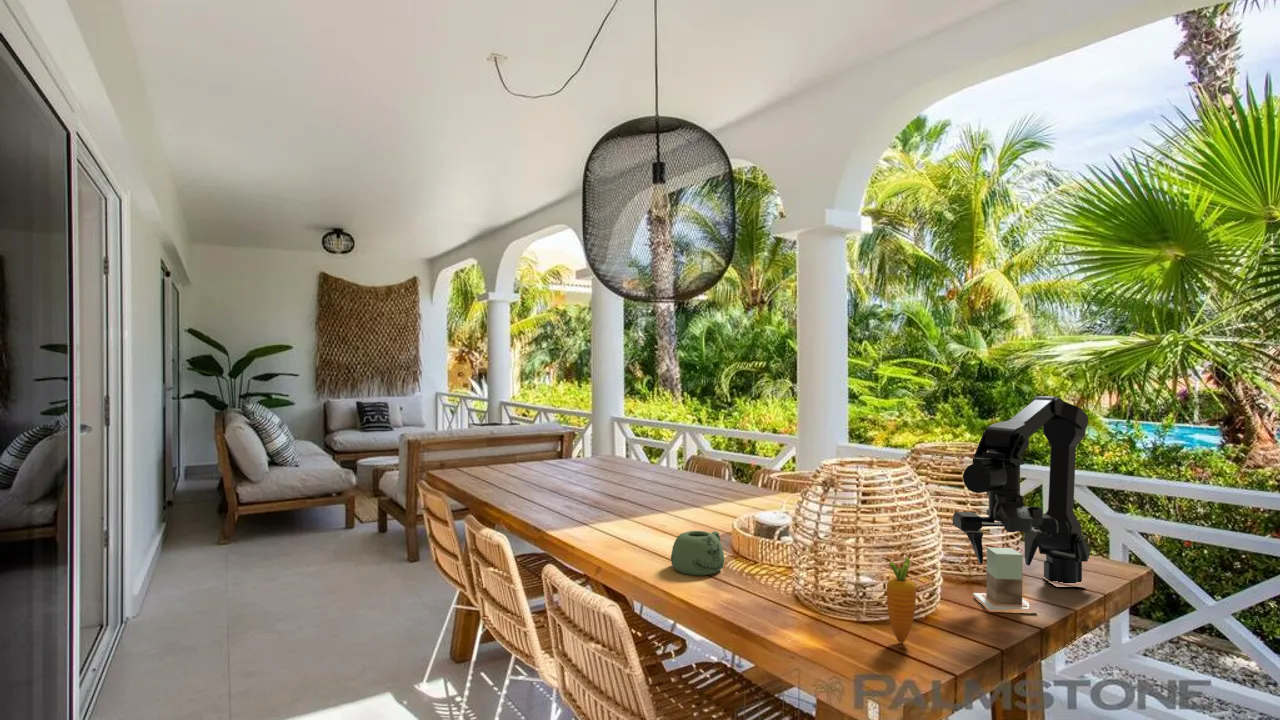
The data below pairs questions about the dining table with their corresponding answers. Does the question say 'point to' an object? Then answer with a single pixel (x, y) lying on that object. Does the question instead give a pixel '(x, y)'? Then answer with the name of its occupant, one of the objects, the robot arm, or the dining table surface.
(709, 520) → the dining table surface
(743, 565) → the dining table surface
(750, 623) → the dining table surface
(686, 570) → the green animal planter
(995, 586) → the walnut block
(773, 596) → the dining table surface
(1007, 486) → the robot arm
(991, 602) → the bordered square coaster
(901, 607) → the carrot
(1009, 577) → the sage block
